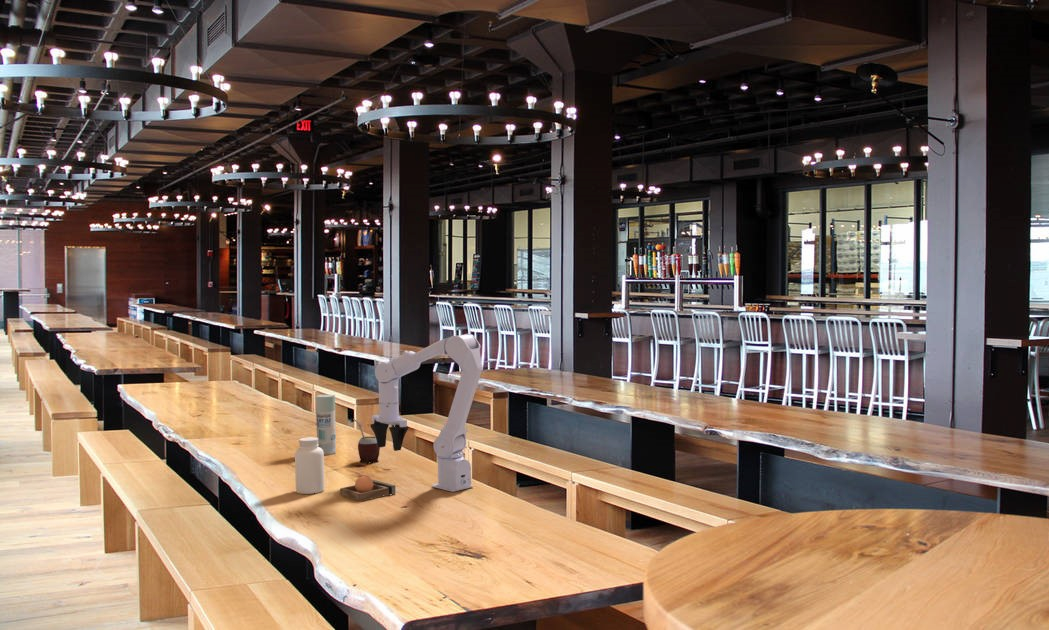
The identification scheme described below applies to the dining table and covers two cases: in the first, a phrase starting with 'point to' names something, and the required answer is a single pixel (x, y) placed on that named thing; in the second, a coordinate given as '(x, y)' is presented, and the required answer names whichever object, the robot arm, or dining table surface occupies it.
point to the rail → (390, 486)
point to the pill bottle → (309, 466)
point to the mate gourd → (368, 448)
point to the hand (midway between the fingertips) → (389, 448)
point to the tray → (355, 495)
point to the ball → (364, 484)
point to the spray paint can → (326, 423)
